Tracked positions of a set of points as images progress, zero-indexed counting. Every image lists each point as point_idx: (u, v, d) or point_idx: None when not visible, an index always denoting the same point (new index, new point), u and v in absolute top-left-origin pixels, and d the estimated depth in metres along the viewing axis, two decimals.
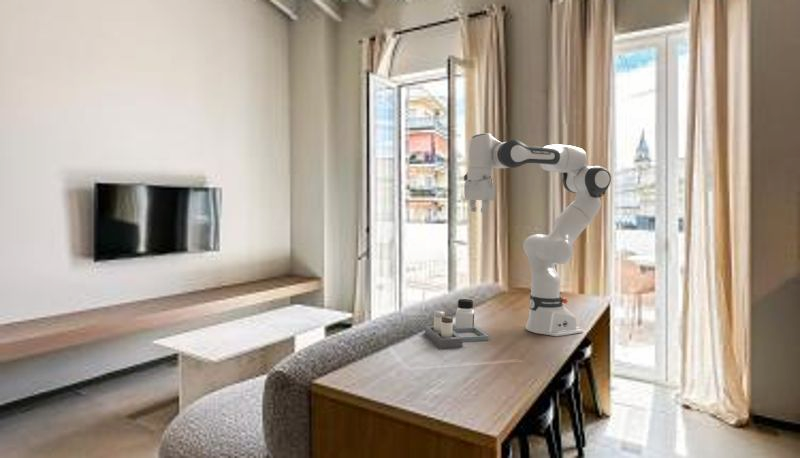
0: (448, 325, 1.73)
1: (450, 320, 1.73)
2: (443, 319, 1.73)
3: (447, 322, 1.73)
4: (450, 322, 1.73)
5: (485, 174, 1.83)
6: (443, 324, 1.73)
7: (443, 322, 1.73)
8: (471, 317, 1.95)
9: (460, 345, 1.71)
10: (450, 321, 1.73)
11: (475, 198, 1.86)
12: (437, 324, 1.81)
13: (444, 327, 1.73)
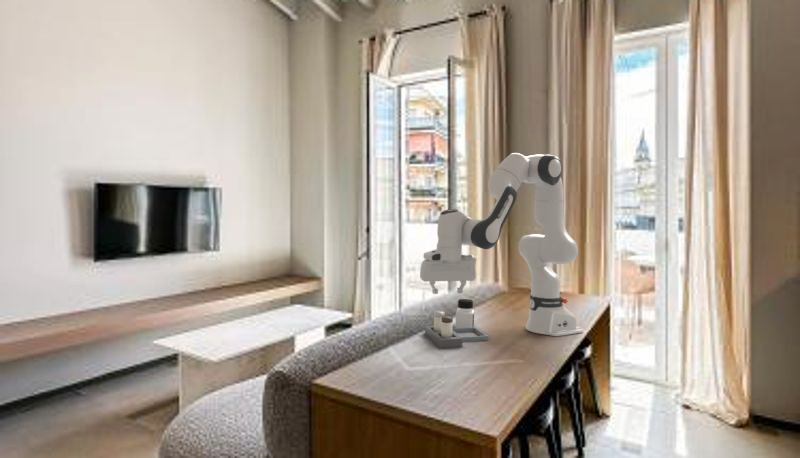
0: (448, 325, 1.73)
1: (450, 320, 1.73)
2: (443, 319, 1.73)
3: (447, 322, 1.73)
4: (450, 322, 1.73)
5: None
6: (443, 324, 1.73)
7: (443, 322, 1.73)
8: (471, 317, 1.95)
9: (460, 345, 1.71)
10: (450, 321, 1.73)
11: (451, 279, 1.72)
12: (437, 324, 1.81)
13: (444, 327, 1.73)
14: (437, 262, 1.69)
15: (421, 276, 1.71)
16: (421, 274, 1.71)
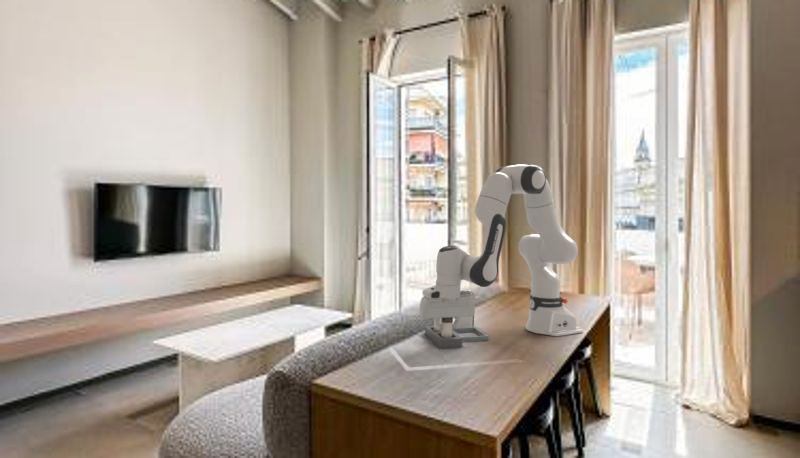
0: (448, 325, 1.73)
1: (450, 320, 1.73)
2: (443, 319, 1.73)
3: (447, 322, 1.73)
4: (450, 322, 1.73)
5: None
6: (443, 324, 1.73)
7: (443, 322, 1.73)
8: (471, 317, 1.95)
9: (460, 345, 1.71)
10: (450, 321, 1.73)
11: (450, 316, 1.73)
12: None
13: (444, 327, 1.73)
14: (436, 300, 1.70)
15: (420, 313, 1.72)
16: (420, 311, 1.72)
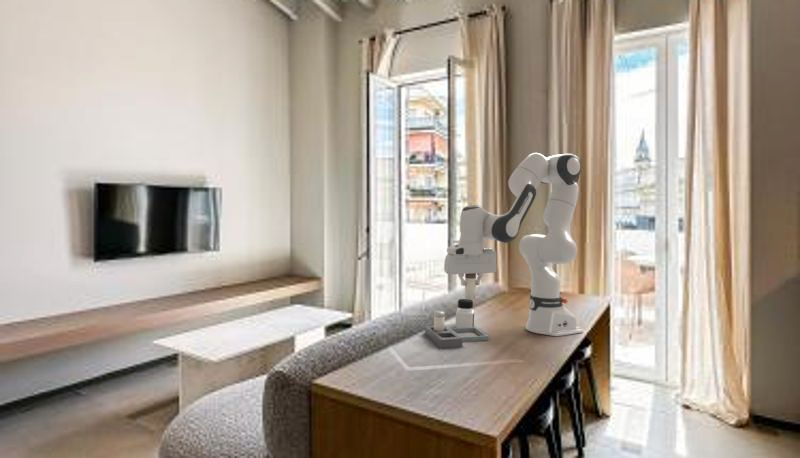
0: (472, 281, 1.81)
1: (474, 276, 1.82)
2: (467, 275, 1.82)
3: (471, 278, 1.81)
4: (474, 278, 1.82)
5: None
6: (467, 280, 1.82)
7: (467, 278, 1.82)
8: (471, 317, 1.95)
9: (460, 345, 1.71)
10: (474, 277, 1.82)
11: (474, 272, 1.82)
12: (437, 324, 1.81)
13: (468, 282, 1.82)
14: (460, 256, 1.79)
15: (445, 269, 1.80)
16: (445, 267, 1.80)
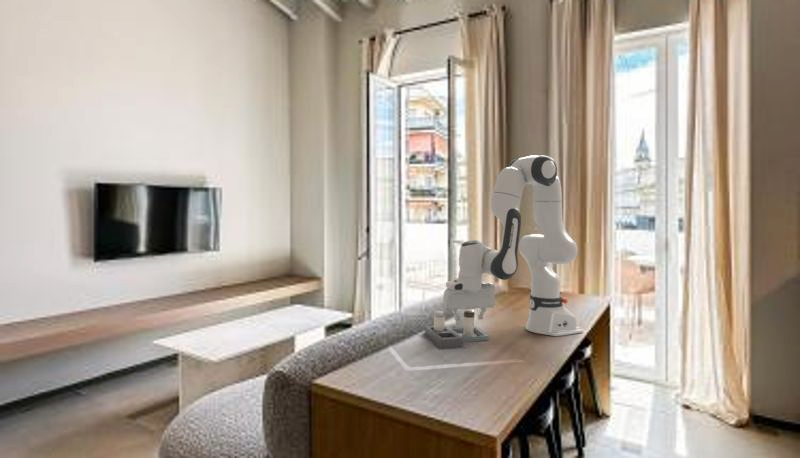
0: (470, 320, 1.82)
1: (472, 315, 1.83)
2: (465, 314, 1.83)
3: (469, 317, 1.82)
4: (472, 317, 1.83)
5: None
6: (465, 319, 1.83)
7: (465, 317, 1.83)
8: None
9: (460, 345, 1.71)
10: (472, 316, 1.83)
11: (472, 307, 1.83)
12: (437, 324, 1.81)
13: (466, 321, 1.83)
14: (459, 291, 1.80)
15: (444, 304, 1.81)
16: (444, 302, 1.81)
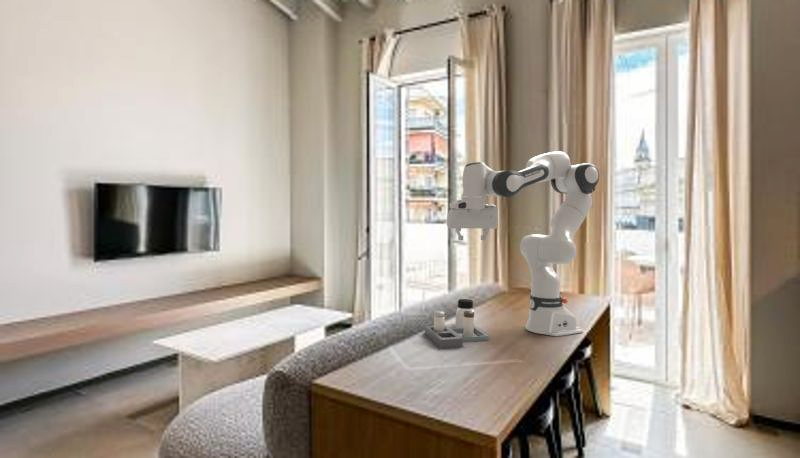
0: (470, 320, 1.83)
1: (472, 315, 1.83)
2: (465, 314, 1.83)
3: (469, 317, 1.82)
4: (472, 317, 1.83)
5: None
6: (465, 319, 1.83)
7: (465, 317, 1.83)
8: None
9: (460, 345, 1.71)
10: (472, 316, 1.83)
11: (475, 227, 1.86)
12: (437, 324, 1.81)
13: (466, 321, 1.83)
14: (463, 210, 1.83)
15: (448, 224, 1.85)
16: (448, 222, 1.85)
